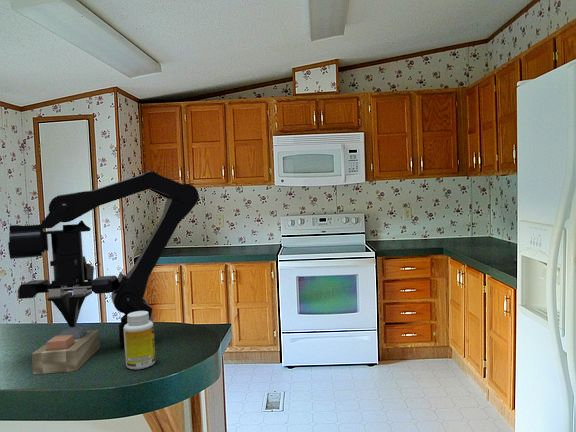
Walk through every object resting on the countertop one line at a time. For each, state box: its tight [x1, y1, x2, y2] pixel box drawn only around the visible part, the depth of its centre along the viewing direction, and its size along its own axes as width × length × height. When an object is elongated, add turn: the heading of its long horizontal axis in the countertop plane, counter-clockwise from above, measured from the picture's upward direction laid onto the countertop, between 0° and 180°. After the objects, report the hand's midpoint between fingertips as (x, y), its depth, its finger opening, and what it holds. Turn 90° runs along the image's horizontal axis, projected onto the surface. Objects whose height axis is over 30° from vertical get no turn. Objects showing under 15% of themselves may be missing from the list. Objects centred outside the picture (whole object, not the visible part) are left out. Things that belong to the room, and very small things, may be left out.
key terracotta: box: [46, 335, 74, 351], centre depth 86 cm, size 4×4×3 cm
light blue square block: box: [60, 325, 87, 339], centre depth 92 cm, size 4×4×3 cm
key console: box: [31, 329, 101, 375], centre depth 89 cm, size 8×13×4 cm, turn 5°
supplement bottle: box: [124, 311, 157, 370], centre depth 84 cm, size 6×6×10 cm
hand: (72, 326), depth 92 cm, fingers closed
